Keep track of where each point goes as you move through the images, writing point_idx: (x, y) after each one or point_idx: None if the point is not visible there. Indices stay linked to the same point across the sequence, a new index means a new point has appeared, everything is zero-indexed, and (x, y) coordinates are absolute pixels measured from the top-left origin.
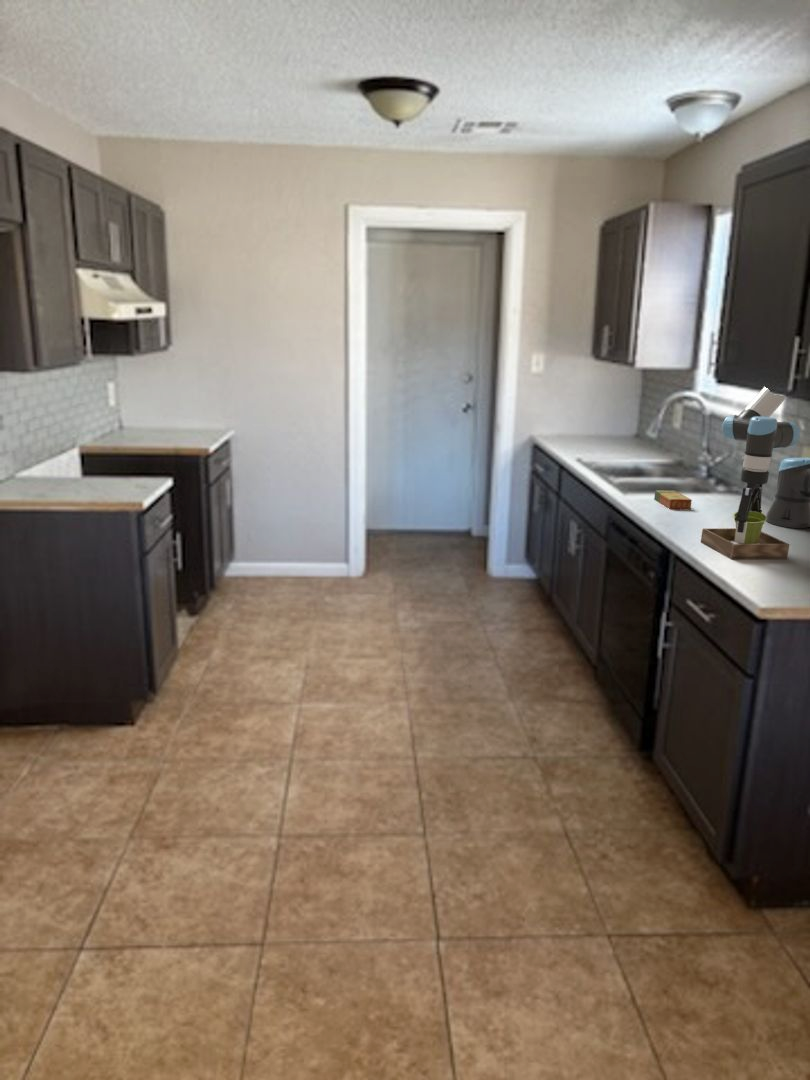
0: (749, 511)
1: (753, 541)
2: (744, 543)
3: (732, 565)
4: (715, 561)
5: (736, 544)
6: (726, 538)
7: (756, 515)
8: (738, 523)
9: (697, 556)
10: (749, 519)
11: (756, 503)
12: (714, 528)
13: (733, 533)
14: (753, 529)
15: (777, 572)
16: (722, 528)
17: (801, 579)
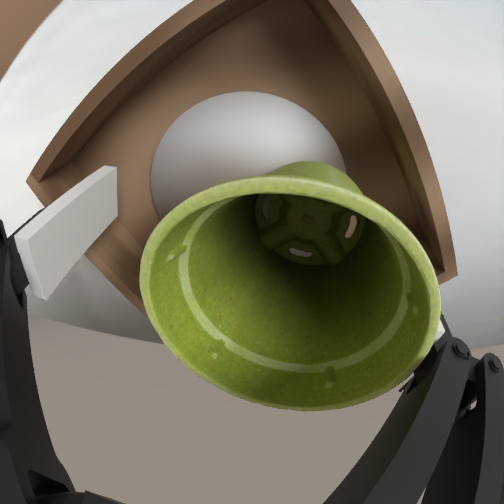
0: (31, 372)
1: (253, 252)
2: (250, 203)
3: (19, 172)
4: (19, 113)
5: (35, 191)
6: (374, 107)
7: (382, 362)
8: (8, 238)
9: (36, 40)
10: (393, 297)
11: (356, 467)
12: (363, 19)
13: (403, 152)
14: (207, 295)
15: (58, 285)
16: (396, 78)
17: (58, 321)
